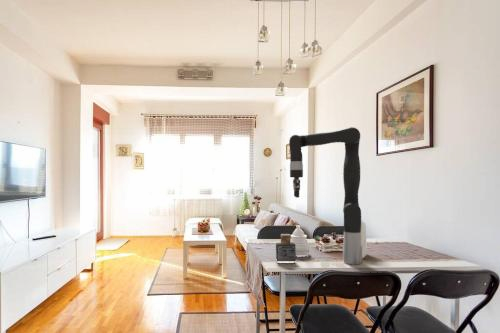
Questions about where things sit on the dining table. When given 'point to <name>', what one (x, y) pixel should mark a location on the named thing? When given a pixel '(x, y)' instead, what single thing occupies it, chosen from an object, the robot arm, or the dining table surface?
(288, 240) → the walnut cube
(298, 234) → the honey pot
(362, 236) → the milk
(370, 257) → the dining table surface
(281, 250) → the small box
